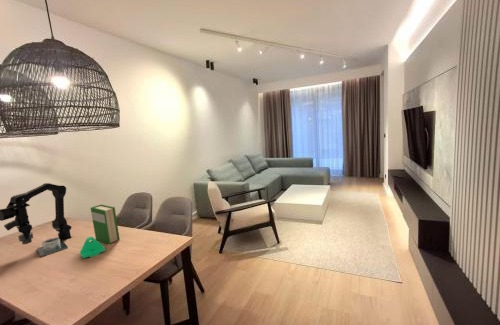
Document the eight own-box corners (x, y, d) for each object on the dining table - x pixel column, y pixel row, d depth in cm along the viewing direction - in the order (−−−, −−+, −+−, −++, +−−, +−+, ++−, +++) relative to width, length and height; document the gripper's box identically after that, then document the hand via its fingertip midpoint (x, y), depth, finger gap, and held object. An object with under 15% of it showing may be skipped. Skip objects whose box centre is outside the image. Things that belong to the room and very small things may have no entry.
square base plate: (62, 241, 175) (60, 233, 174) (67, 247, 164) (66, 239, 163) (36, 249, 165) (35, 241, 164) (40, 257, 154) (39, 248, 153)
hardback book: (119, 240, 170) (114, 207, 167) (108, 244, 164) (103, 210, 161) (106, 235, 180) (101, 204, 177) (96, 239, 174) (90, 207, 171)
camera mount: (83, 260, 146) (80, 244, 145) (80, 256, 152) (78, 240, 150) (105, 252, 155) (103, 236, 153) (102, 248, 160) (100, 233, 159)
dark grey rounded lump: (33, 239, 163) (31, 231, 162) (34, 241, 158) (33, 233, 157) (19, 243, 158) (17, 235, 157) (20, 246, 153) (18, 237, 152)
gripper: (2, 216, 156) (7, 239, 158) (4, 222, 143) (10, 247, 145) (25, 210, 164) (30, 233, 166) (29, 216, 151) (34, 239, 153)
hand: (26, 238), depth 157 cm, fingers closed on dark grey rounded lump, 7 cm apart
